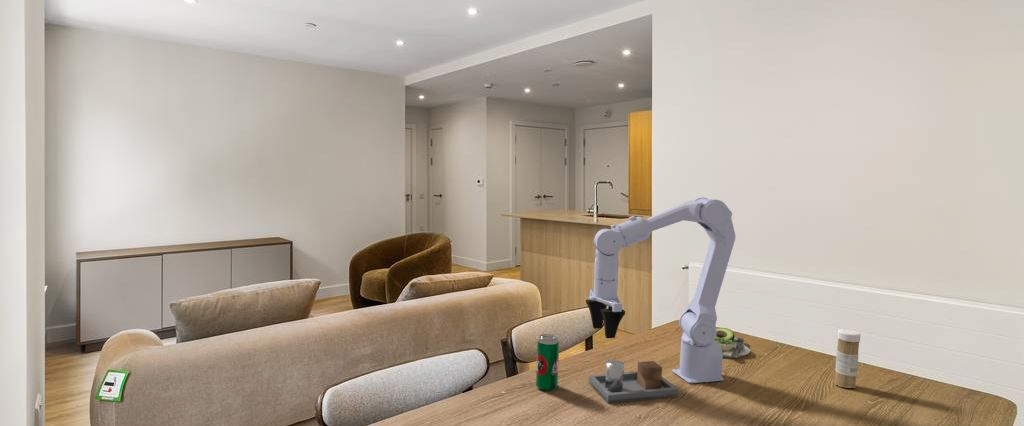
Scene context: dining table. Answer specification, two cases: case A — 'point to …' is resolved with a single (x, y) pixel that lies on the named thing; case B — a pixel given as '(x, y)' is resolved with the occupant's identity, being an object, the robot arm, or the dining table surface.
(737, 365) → the dining table surface
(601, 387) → the tray
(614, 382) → the steel cylinder
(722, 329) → the salad plate
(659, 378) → the walnut block
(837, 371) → the sprinkles bottle
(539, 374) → the soda can
